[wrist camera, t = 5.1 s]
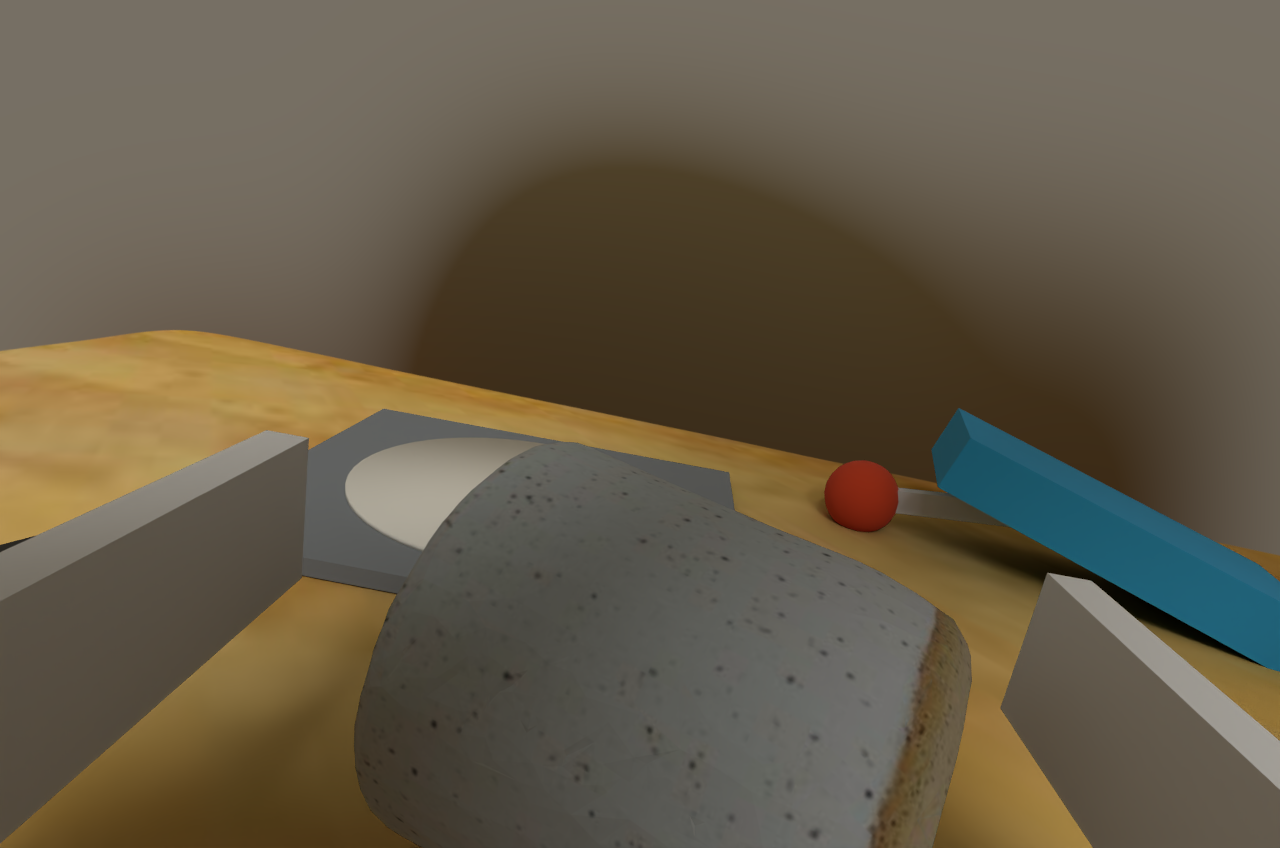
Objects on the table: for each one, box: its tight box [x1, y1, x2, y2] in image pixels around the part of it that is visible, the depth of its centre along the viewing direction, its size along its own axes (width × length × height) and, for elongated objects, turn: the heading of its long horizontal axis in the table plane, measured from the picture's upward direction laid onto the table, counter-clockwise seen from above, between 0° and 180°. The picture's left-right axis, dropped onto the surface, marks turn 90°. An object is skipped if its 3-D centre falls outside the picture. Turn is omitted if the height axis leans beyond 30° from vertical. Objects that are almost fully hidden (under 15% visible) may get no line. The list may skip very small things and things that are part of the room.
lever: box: [824, 409, 1280, 671], centre depth 32 cm, size 7×7×18 cm
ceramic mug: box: [354, 442, 972, 848], centre depth 14 cm, size 11×8×8 cm
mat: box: [302, 409, 735, 594], centre depth 29 cm, size 18×16×1 cm
